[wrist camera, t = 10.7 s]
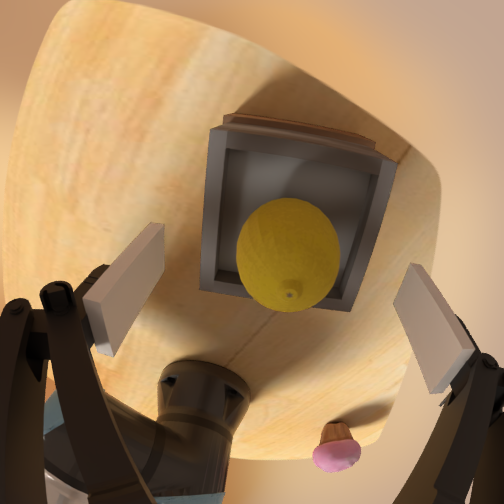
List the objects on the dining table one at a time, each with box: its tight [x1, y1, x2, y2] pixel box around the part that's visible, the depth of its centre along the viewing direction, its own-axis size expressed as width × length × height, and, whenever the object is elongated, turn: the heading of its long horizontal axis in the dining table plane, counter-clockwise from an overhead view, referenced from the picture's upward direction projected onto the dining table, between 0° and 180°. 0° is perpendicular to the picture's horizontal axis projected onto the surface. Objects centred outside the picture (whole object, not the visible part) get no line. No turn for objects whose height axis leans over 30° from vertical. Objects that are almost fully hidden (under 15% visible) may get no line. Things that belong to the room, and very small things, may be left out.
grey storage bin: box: [200, 113, 398, 312], centre depth 23 cm, size 12×12×12 cm
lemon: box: [236, 198, 340, 312], centre depth 16 cm, size 6×6×8 cm
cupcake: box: [313, 422, 361, 472], centre depth 44 cm, size 9×9×10 cm
